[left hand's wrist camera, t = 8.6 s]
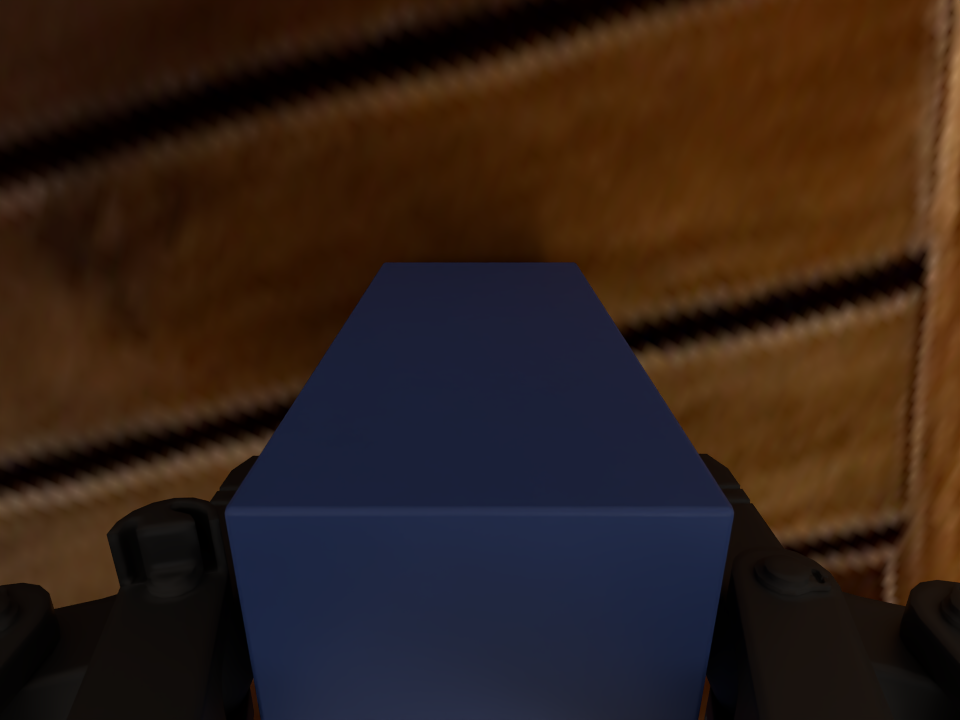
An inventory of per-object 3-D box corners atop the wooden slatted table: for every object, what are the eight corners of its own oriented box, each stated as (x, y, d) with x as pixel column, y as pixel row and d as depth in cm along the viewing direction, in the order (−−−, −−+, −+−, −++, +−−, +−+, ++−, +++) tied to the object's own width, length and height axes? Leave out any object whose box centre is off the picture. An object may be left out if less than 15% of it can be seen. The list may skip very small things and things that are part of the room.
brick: (576, 261, 15) (738, 509, 6) (564, 472, 18) (667, 908, 8) (382, 261, 15) (219, 509, 6) (394, 472, 18) (291, 908, 8)
